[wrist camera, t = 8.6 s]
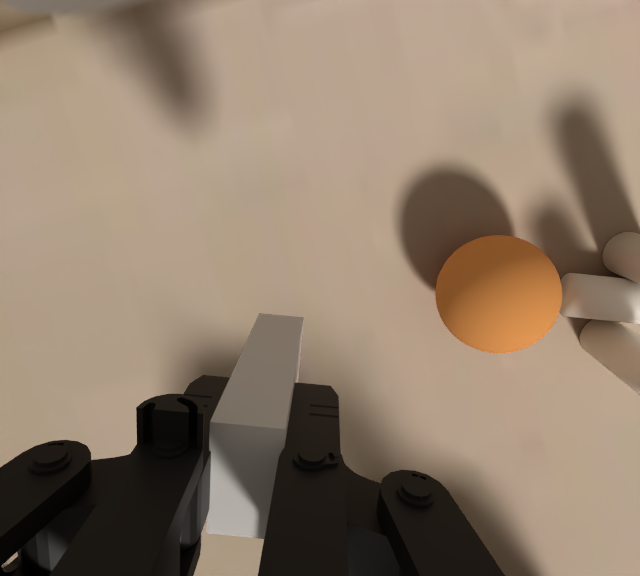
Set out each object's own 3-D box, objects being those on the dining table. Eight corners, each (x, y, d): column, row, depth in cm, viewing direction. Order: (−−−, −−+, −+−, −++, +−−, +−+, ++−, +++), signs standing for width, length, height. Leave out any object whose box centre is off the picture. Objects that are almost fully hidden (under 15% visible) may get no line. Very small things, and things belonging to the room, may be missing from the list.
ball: (566, 360, 24) (473, 315, 28) (602, 249, 22) (496, 220, 26) (495, 388, 20) (403, 332, 25) (530, 260, 18) (422, 225, 23)
